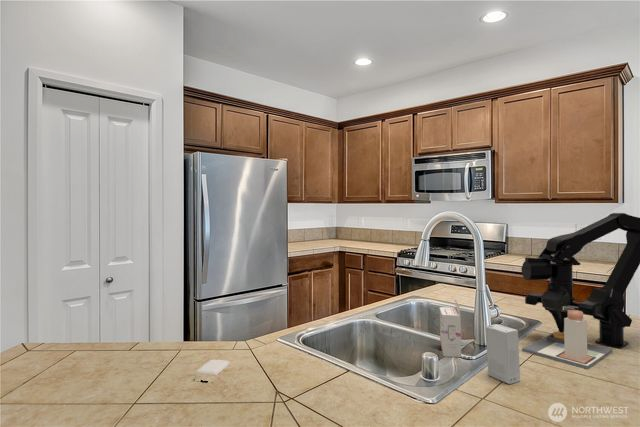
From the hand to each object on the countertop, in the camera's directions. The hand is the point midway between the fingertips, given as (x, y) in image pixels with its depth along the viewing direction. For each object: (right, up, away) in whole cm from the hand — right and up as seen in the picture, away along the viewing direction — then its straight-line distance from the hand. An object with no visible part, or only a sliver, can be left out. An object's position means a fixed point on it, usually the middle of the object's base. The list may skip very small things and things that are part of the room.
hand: (561, 332), depth 113 cm
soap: (-99, -6, -17) cm, 101 cm away
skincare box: (-28, -4, -22) cm, 36 cm away
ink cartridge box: (-35, -4, -5) cm, 35 cm away
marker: (-4, -3, -13) cm, 14 cm away
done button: (0, -2, 0) cm, 2 cm away
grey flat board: (-3, -3, -6) cm, 8 cm away
